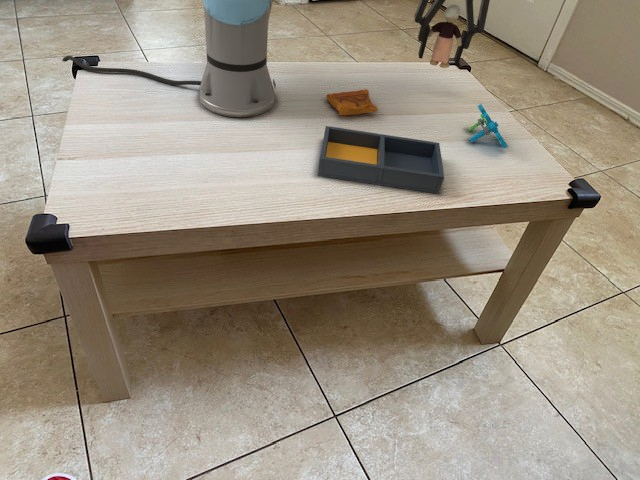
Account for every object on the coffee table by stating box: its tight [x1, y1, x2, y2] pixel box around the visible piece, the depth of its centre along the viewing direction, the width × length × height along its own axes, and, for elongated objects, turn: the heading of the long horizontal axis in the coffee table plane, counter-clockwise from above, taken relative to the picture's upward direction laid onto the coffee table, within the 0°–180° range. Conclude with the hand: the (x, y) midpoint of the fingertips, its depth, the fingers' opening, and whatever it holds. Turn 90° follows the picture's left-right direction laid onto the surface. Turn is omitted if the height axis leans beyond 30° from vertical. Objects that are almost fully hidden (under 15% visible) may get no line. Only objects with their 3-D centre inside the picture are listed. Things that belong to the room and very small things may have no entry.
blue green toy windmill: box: [468, 104, 508, 150], centre depth 97 cm, size 11×6×10 cm
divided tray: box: [317, 125, 445, 195], centre depth 87 cm, size 21×11×4 cm, turn 84°
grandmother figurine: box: [428, 4, 462, 69], centre depth 105 cm, size 8×4×13 cm, turn 77°
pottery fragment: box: [326, 88, 379, 116], centre depth 103 cm, size 10×5×10 cm
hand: (438, 58), depth 109 cm, fingers closed on grandmother figurine, 7 cm apart
